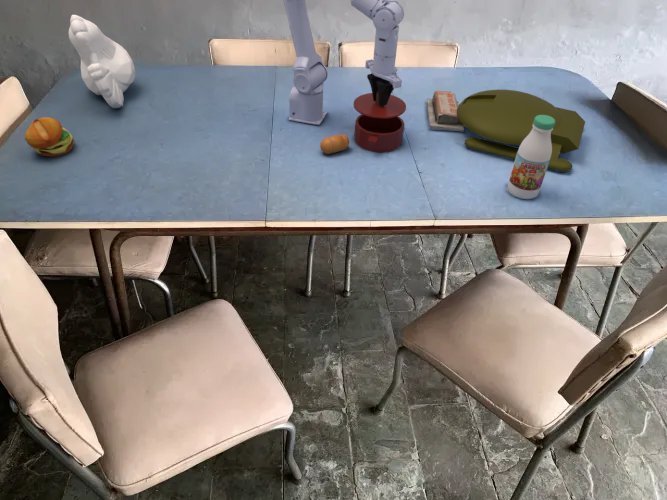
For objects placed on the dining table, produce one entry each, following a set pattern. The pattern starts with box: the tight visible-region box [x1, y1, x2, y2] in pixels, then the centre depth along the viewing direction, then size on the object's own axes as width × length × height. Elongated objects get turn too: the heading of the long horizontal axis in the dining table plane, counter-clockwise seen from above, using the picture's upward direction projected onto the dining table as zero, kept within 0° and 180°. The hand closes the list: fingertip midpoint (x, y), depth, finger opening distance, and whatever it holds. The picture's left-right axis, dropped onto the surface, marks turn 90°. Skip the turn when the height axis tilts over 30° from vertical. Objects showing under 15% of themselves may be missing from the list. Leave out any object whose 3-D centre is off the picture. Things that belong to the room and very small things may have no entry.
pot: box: [353, 113, 406, 153], centre depth 153 cm, size 13×19×5 cm
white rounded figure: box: [68, 14, 136, 109], centre depth 160 cm, size 25×16×25 cm
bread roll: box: [319, 133, 350, 155], centre depth 148 cm, size 8×4×4 cm, turn 119°
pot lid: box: [353, 91, 407, 119], centre depth 149 cm, size 14×14×5 cm
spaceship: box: [457, 89, 586, 173], centre depth 156 cm, size 35×31×10 cm
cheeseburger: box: [24, 116, 74, 157], centre depth 142 cm, size 10×11×10 cm
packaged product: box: [426, 90, 465, 133], centre depth 165 cm, size 18×5×10 cm
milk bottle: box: [507, 115, 555, 200], centre depth 131 cm, size 8×8×20 cm
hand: (380, 102), depth 149 cm, fingers closed on pot lid, 2 cm apart
